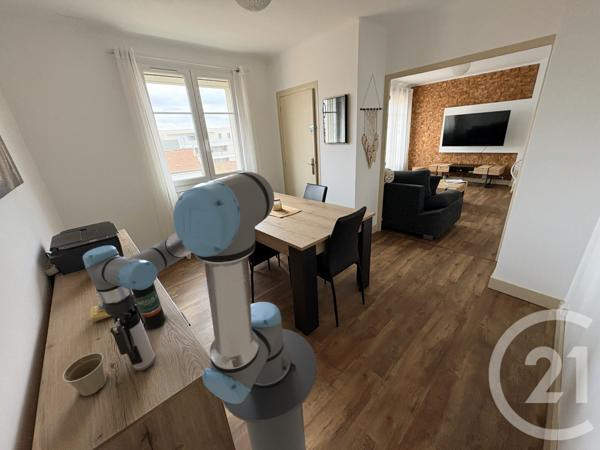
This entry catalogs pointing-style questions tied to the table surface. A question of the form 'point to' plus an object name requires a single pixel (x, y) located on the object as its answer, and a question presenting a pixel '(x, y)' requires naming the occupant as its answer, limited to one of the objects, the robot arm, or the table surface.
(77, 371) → the flower pot
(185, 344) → the table surface
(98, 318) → the cake
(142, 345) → the travel mug
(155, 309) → the wine bottle
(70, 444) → the table surface
